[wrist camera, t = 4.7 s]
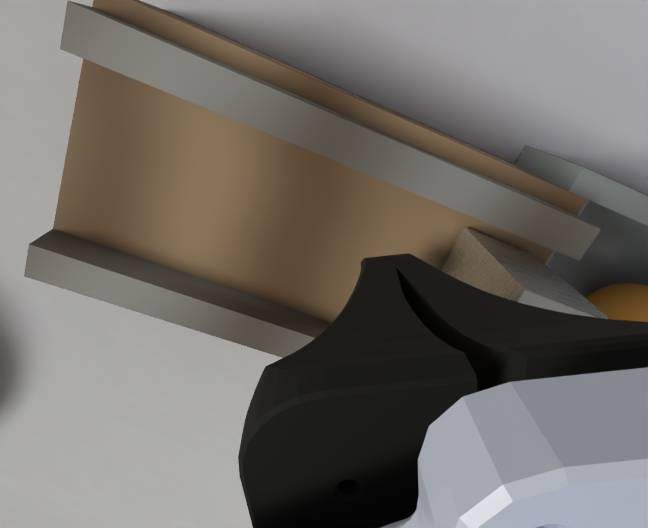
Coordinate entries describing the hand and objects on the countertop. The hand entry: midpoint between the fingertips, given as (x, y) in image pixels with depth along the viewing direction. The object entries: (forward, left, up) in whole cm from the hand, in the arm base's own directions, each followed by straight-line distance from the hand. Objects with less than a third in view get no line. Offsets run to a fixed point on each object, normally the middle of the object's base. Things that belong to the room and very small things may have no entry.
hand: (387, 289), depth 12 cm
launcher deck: (+2, 0, -7) cm, 7 cm away
